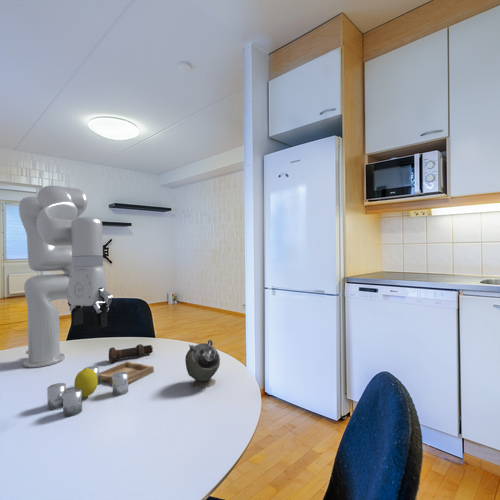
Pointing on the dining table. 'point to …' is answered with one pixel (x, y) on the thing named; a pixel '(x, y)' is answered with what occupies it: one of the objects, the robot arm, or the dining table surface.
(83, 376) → the lemon
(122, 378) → the cylinder
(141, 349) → the bolt
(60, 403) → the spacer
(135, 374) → the tray
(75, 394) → the cylinder
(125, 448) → the dining table surface
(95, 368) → the cylinder
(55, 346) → the robot arm
